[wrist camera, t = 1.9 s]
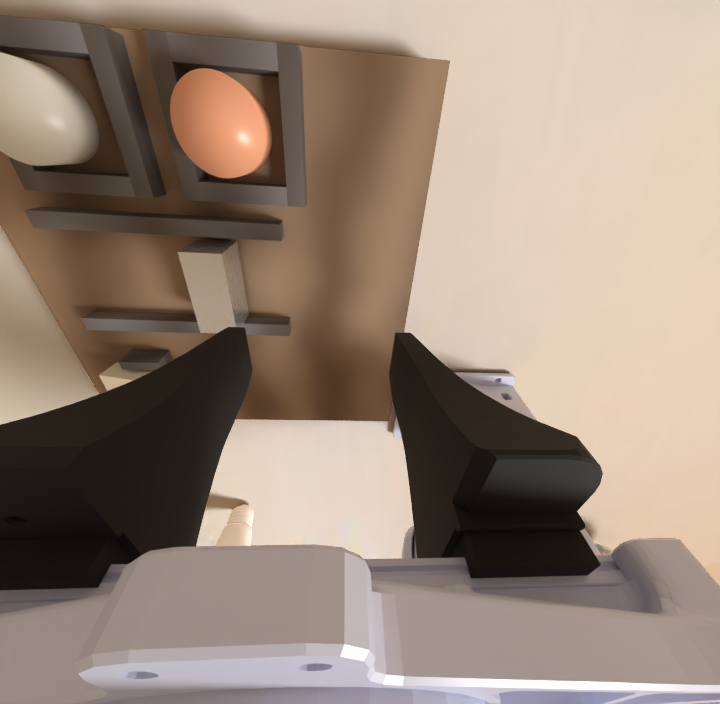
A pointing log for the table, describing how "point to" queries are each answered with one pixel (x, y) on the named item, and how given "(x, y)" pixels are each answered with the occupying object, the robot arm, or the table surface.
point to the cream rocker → (120, 376)
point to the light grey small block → (215, 284)
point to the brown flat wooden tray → (233, 210)
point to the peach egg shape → (220, 124)
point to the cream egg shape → (43, 115)
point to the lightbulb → (238, 528)
